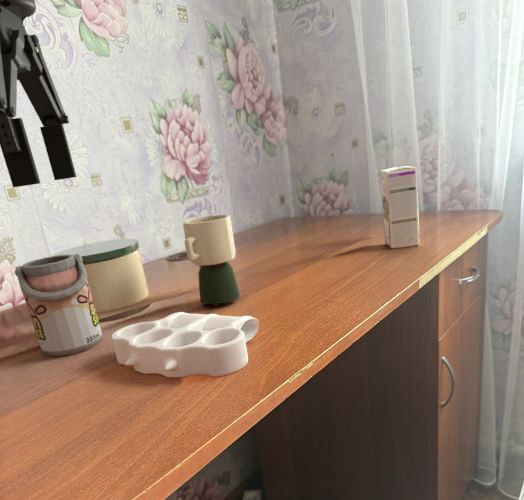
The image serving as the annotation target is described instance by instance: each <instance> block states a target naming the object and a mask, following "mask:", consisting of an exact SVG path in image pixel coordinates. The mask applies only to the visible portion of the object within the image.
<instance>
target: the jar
mask: <svg viewBox="0 0 524 500" xmlns="http://www.w3.org/2000/svg"><path fill="white" fill-rule="evenodd" d="M140 246H141V245H140V242H139V239H137V238H118V239H109V240H102V241H98V242H92V243H87V244H82V245H77V246H74V247H70V248H67V249H64V250H61V251H58V252H57V253H55V254H54V255H53V256H58V255H73V256H74V255H75V254H79V256H80V257H82V259H83V262H82V263H83V265H84V268H85V270H86V273H87V281H88V284H89V288H90V292H91V295H92V299H93V302H94V306H95V310H96V313H98V314H99V313H104V312H109V311H110V312H111V311H114V310H118V309H119V310H120V309H122V308H126V307H128V306H129V307H130V306H131V305H134V304H137V303H139V302H142V301H143V300H145V299H146V298H147V297H149V295H150V291H149V287H148V283H147V278H146V274H145V269H144V265H143V261H142V256H141V253H140ZM150 306H151V303H149V304H145V305H142V306H139V307H136V308H133V309H128V310H126V311H122V312H119V313H115V314H112V315H109V316H105V317H102V318H98V320H99V324H101V323H108V322H112V321H117V320H120V319H125V318H128V317H131V316H134V315H136V314H139V313H140V312H143V311H144V310H146V309H148V308H149V307H150Z"/></svg>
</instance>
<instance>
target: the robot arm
mask: <svg viewBox="0 0 524 500" xmlns="http://www.w3.org/2000/svg"><path fill="white" fill-rule="evenodd" d="M36 9H37V5H36V0H0V149H1V152H2V155H3V156H2V157H3V159H4V163H5V165H6V169H7V173H8V176H9V178H10V181H11V186H12V188H19V187H25V186H33V185H39V184H41V180H40V177H39V173H38V169H37V166H36V163H35V159H34V155H33V152H32V149H31V146H30V142H29V139H28V135H27V132H26V128H25V125H24V121H23V119H22V117H17V97H18V96H17V95H18V92H17V91H18V90H17V89H18V81H19V83H20V85H21V87H22V89H23V91H24V92H25V94H26V96H27V98H28V100H29V102H30V103H31V105H32V107H33V110H34V111H35V113H36V115H37V117H38V118H39V121H40V122H41V124H42V126H40V127H39V128H40V132H41V133H40V134H41V136H42V140H43V143H44V147H45V150H46V154H47V157H48V161H49V164H50V168H51V172H52V175H53V179H54V181H60V180H65V179H66V180H67V179H73V178H77V173H76V169H75V166H74V162H73V159H72V154H71V151H70V147H69V143H68V139H67V135H66V132H65V127H64V125H67V124H70V120H69V119H70V118H69V116H68V115H67V114H66V112H65V109H64V107H63V104H62V101H61V98H60V97H59V93H58V91H57V89H56V87H55V83H54V81H53V78H52V75H51V73H50V71H49V68H48V66H47V63H46V61H45V58H44V55H43V52H42V48H41V44H40V40H39V38H38V35H36V34H28V33H27V30H26V27H25V25H24V21H25V19H26V18H30V17H32V16H34V14H35V13H36V11H37V10H36Z"/></svg>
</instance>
